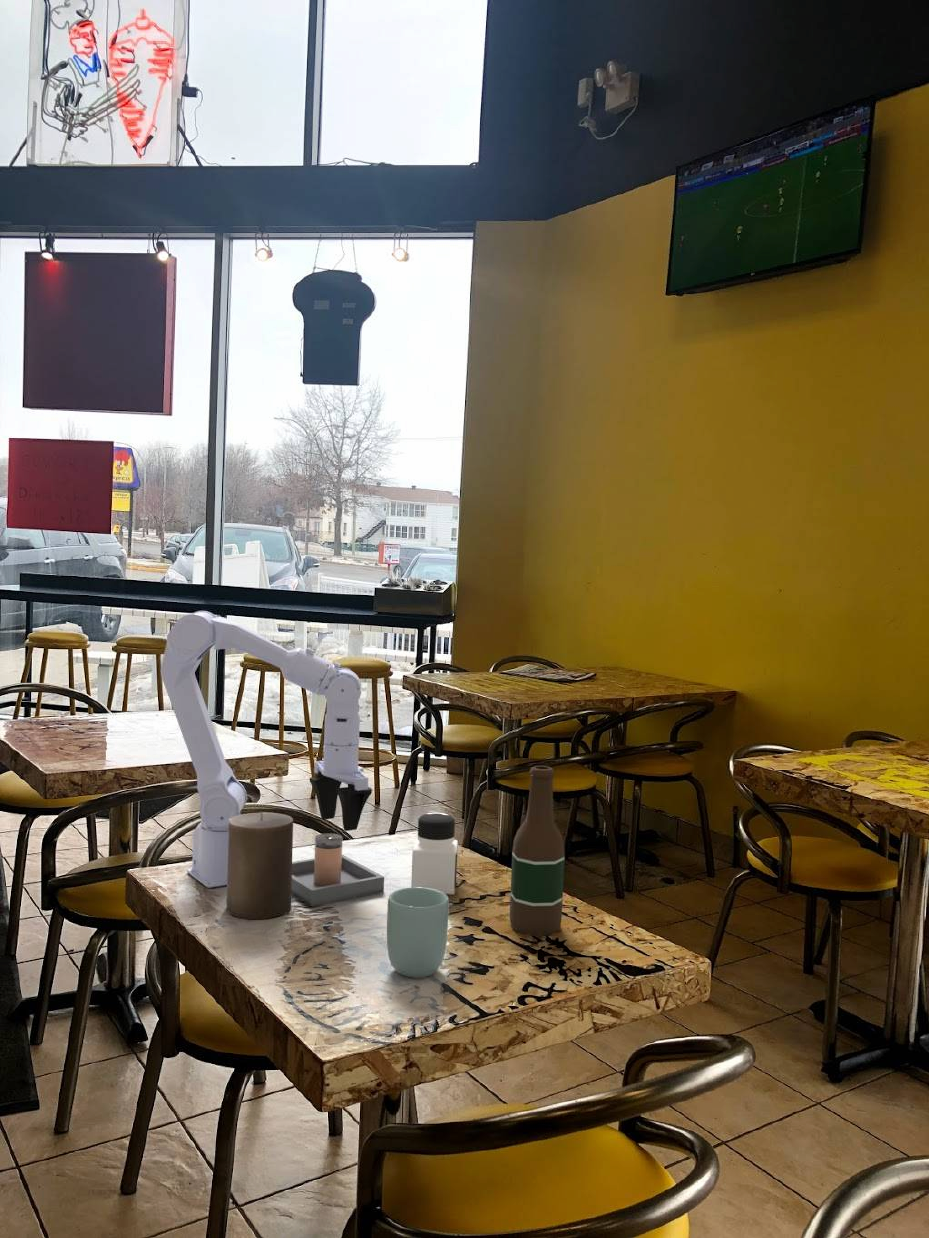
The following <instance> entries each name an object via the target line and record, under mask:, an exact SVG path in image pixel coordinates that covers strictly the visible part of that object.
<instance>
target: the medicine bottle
mask: <svg viewBox="0 0 929 1238" xmlns="http://www.w3.org/2000/svg"><path fill="white" fill-rule="evenodd" d="M417 823H418V824H417V838H415V840H414V844H413V849H412V856H411V857H412V858H411V859H412V860H411V881H410V882H411V883H410V884H411V886H410V888H411V887H423V888H430V889H434V890H438V891H440V892H443V893H444V894H446V895H447V896H448V895H451V896H452V895H455V894H456V890H457V889H456V888H457V886H456V885H457V875H458V874H457V871H458V868H457V867H458V866H457V865H458V845H459V841H458V840H457V839H455V833H456V832H455V829H456V819H455V818H454V817H453V816H452V815H449V814H447V813H444V812H428V813H425V814H423V815H421V816H419V818H418V820H417Z"/></svg>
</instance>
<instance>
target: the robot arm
mask: <svg viewBox="0 0 929 1238" xmlns="http://www.w3.org/2000/svg"><path fill="white" fill-rule="evenodd" d="M212 648H213V650H224V649H225V650H226V649H227V650H228V649H237V650H238V651H241V652H243V653H245V654H248V655H250V656H252V657H254V658H256V659H259V660H260V661H264V662H266V663H268V664H270V665H273V666H275V667H277V668H279V669H280V671H281V674H282V676H283V680H285V681H288V682H290V683H293V684H294V685H295V686H296V685H297V686H298V687H300V688H303V689H305V690H306V691H308V692H311V693H312V694H314V695H317V696H324V698H325V700H326V713H325V716H324V730H323V731H324V735H323V736H324V737H323V738H324V739H323V760H317V761H314V770H313V771H314V774H316V776H311V777H309V783H310V784H311V787H312V789H313V790H314V794H315V796H316V800H317V803H318V809H319V813H320V818H321V819H322V820H323V821H324V820H332V819H335V815H336V812H337V804H338V803H337V801H338V798H339V802H340V805H341V815H342V818H341V819H342V827H343V830H344V831H345V832H348V831H356V830H357V829H358V827H359V823H360V820H361V815H362V813H363V810H364V807H365V805H366V803H367V802H368V799H369V797H370V796H371V794H372V792H373V789H372V787H369V777H367V776H366V775H365V774H364V767H363V766H359V753H360V751H359V750H360V749H359V748H360V747H359V746H360V724H361V723H360V722H361V720H360V719H361V716H360V714H359V712H360V709H361V708H360V703H359V700H360V697H361V695H362V682H361V679H360V678H359V676H358V674H356V673H355V672H354V671H352V669H350V667H341V664H340V663H339V662H337V661H335V662H334V663H332V662H331V661H329V660H326V659H325V658H323V657H320V656H318V655H316V654H315V652H316V651H315V650H314V649H313V648H310V647H309V646H308V647H307V648H306V649H304V648H302V647H296V648H294V649H291V650H288V649H287V648H285V647H283V646H281V645H279V644H277V643H276V642H273V641H271V640H270V639H267V638H265V637H264V636H262V635H261V634H259V633H257V632H256V631H255V632H254V631H253V630H250V629H249V628H247V627H245V626H244V625H242V624H240V623H237V622H236V621H233V620H231V619H229V618H226V617H223V616H217V615H215V614H214V613H212V612H210V611H208V610H198V611H195V612H192V613H188V614H185V615H183V616H181V617H180V618H178V619H177V621H175V623H174V625H173V626H172V627H171V629H170V631H169V632H168V633H167V635H166V645H165V648H164V654H163V657H162V663H161V667H160V677H161V678H162V682H163V684H164V687H165V689H166V693H167V696H168V698H169V701H170V704H171V707H172V709H173V713H174V715H175V718H176V721H177V723H178V726H179V729H180V732H181V734H182V737H183V741H184V742H185V747H186V749H187V751H188V754H189V757H190V759H191V762H192V765H193V769H194V770H195V773H196V784H197V785H196V786H197V788H196V789H197V793H198V796H199V798H200V800H199V801H200V802H199V803H200V804H199V811H198V812H199V816H200V818H201V821H200V823H198V824H197V826H196V828H195V829H194V832H193V835H192V866H191V868H187V869H186V872H187V873H188V874H189V875H191V877H193V878H194V879H196V880H197V881H199V882H200V883H201V884H203V886H205V887H206V888H216V887H222V886H227V871H228V868H227V865H228V840H229V839H228V838H229V819H230V818H233V817H235V816H238V815H242V813H241V811H243V809H244V808H245V805H246V804H247V798H248V795H247V790H246V789H245V787H244V785H243V784H242V783H241V782H239V780H237V778H236V776H235V774H234V772H233V769H232V768H231V766H230V765H229V764H228V763H227V761H226V758H225V756H224V753H223V749H222V747H221V745H220V742H219V739H218V736H217V733H216V730H215V727H214V724H213V722H212V719H211V716H210V714H209V711H208V709H207V704H206V702H205V700H204V697H203V694H202V691H201V688H200V686H199V683H198V680H197V677H196V674H195V672H196V671H197V669H198V667H199V665H200V663H201V661H202V660H203V658H204V656H205V655H206V654H207V653H208V652H209V651H210V650H211V649H212ZM342 783H343V784H346V785H347V786H345V787H341V785H342Z"/></svg>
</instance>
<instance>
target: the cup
mask: <svg viewBox="0 0 929 1238" xmlns="http://www.w3.org/2000/svg"><path fill="white" fill-rule="evenodd" d="M449 902H450V899H449V897H448V894H444V893H443V892H440V891H438V890H434V889H430V888H423V887H411V886H410V887H405V888H400V889H398V890H395V891H393V892H391V893H390V894H389V895H388V899H387V909H386V910H387V912H386V914H387V915H386V916H387V917H386V947H387V949H386V950H387V954H388V960H389V963H390V965H391V967H392V968H393V969H394V970H395V972H397V973H398V974H400V975H402V976H404V977H408V978H413V979H419V978H421V979H422V978H425V977H428V976H431V975H433V974H435V973H436V972H437V971H438V970H439V969H440V968H441V965H442V964H443V962H444V958H445V955H446V950H447V941H448V934H449V933H448V932H449V931H448V930H449V913H450V912H449V911H450V909H449V908H450V905H449V904H450V903H449Z"/></svg>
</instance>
